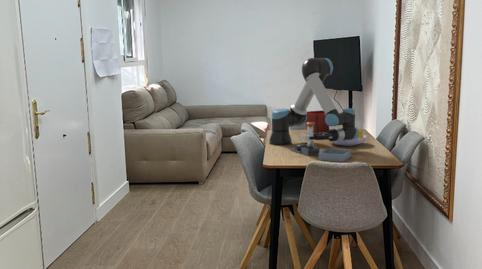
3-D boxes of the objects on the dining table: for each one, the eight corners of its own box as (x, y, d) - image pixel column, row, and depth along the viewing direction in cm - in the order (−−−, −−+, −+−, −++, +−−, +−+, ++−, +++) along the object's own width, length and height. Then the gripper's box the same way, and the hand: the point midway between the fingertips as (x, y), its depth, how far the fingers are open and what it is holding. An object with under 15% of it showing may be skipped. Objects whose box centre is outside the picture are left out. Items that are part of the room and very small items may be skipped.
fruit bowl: (337, 139, 339) (337, 124, 337) (373, 143, 322) (374, 127, 320) (317, 145, 317) (317, 128, 315) (354, 149, 300) (355, 132, 298)
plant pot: (302, 133, 372) (302, 111, 369) (323, 131, 380) (323, 110, 377) (316, 136, 355) (316, 113, 352) (337, 134, 363) (338, 112, 360)
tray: (318, 159, 272) (318, 152, 271) (326, 155, 285) (326, 148, 285) (344, 162, 265) (344, 154, 265) (351, 157, 278) (351, 150, 278)
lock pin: (305, 154, 287) (305, 123, 284) (307, 153, 291) (307, 122, 288) (312, 155, 285) (313, 123, 282) (315, 153, 289) (315, 122, 286)
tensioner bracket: (290, 150, 301) (290, 144, 300) (303, 149, 304) (303, 143, 304) (307, 156, 283) (307, 149, 282) (320, 154, 286) (320, 148, 286)
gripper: (343, 143, 287) (309, 146, 277) (327, 139, 302) (295, 142, 293) (343, 130, 285) (309, 133, 276) (327, 127, 300) (295, 129, 291)
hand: (302, 137), depth 284 cm, fingers closed on lock pin, 3 cm apart
